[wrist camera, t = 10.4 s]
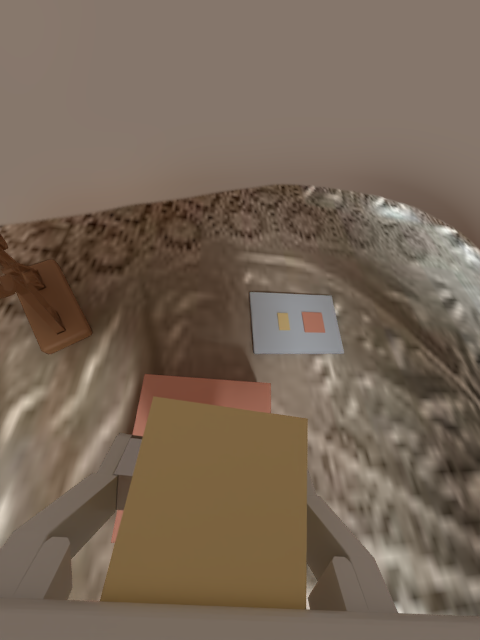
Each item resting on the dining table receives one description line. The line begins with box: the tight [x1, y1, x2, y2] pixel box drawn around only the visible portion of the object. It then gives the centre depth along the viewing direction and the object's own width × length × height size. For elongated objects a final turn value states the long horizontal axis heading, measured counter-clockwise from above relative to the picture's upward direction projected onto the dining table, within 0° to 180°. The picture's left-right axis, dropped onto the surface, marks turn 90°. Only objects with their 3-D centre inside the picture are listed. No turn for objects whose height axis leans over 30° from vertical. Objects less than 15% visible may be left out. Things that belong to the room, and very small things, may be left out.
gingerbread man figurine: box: [0, 234, 92, 354], centre depth 17 cm, size 9×4×12 cm, turn 34°
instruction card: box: [249, 292, 344, 354], centre depth 26 cm, size 10×7×1 cm
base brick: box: [111, 374, 271, 543], centre depth 19 cm, size 10×10×4 cm
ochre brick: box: [100, 396, 308, 610], centre depth 10 cm, size 4×4×9 cm
